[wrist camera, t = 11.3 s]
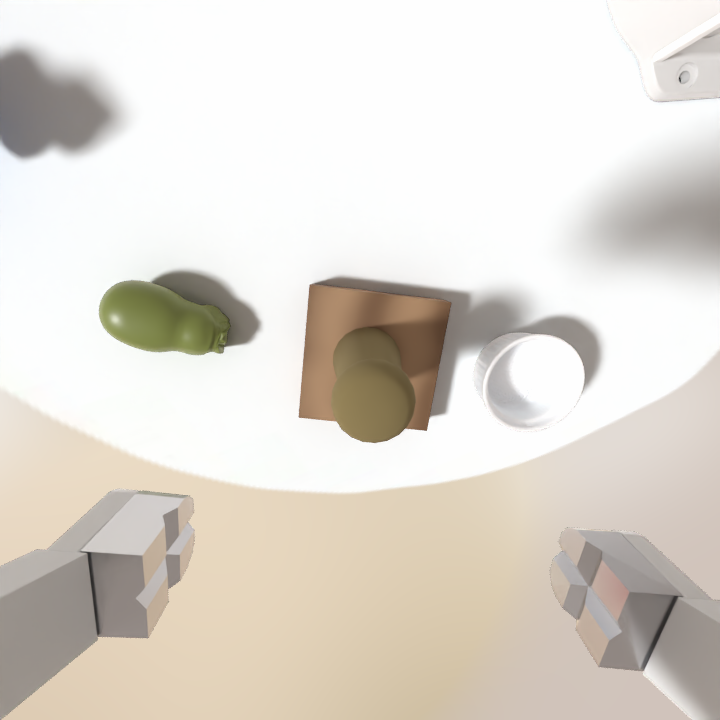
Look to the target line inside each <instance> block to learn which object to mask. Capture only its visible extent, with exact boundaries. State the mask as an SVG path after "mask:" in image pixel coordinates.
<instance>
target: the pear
mask: <svg viewBox="0 0 720 720" xmlns="http://www.w3.org/2000/svg"><path fill="white" fill-rule="evenodd" d="M99 316H100V320H101V323H102V325H103V327H104V328H105V330H106V331H107V332H108V333H109V334H110V335H111V336H113V337H114V338H115V339H117V340H119V341H121V342H123V343H125V344H127V345H130V346H132V347H135V348H138V349H141V350H145V351H151V352H167V351H179V352H183V353H187V354H191V355H204V354H206V353H208V352H216V353H219V354H220V353H223V352H224V345H225V344H226V343H227V339H228V338H227V331H228V330H229V328H230V327H231V325H230V324H229V319H228V318H227V317H226V315H225V314H223V313H222V312H221V311H220V309H219V308H217V307H215V306H213V305H199V304H197V303H193V302H190V301H188V300H185V299H184V298H182V297H181V296H179V295H178V294H177V293H175V292H174V291H172V290H170V289H168V288H165V287H163V286H160V285H157V284H154V283H150V282H145V281H136V280H131V281H124V282H120V283H117V284H115V285H114V286H112V287H111V288H110V289H109V290H108V291H107V292H106V293H105V294H104V296H103V298H102V300H101V302H100V306H99ZM224 342H226V343H224Z"/></svg>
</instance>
